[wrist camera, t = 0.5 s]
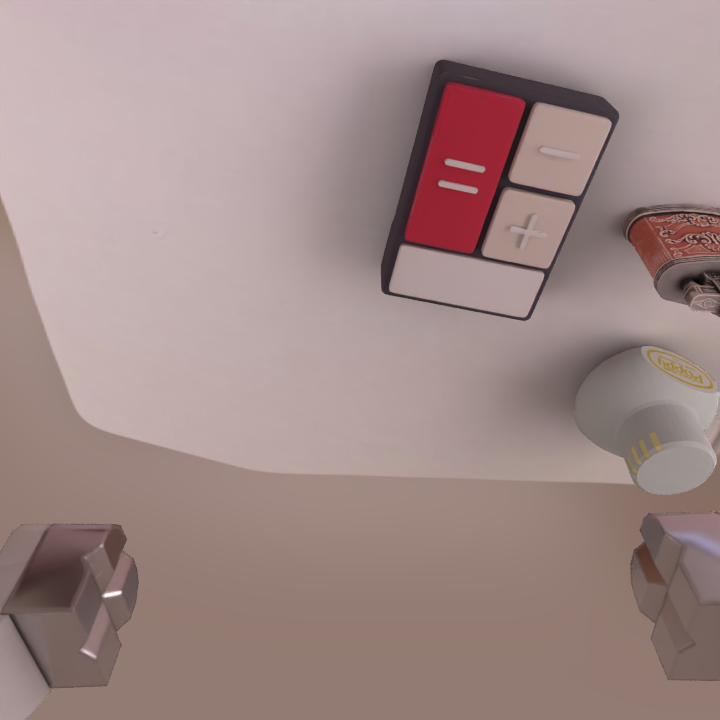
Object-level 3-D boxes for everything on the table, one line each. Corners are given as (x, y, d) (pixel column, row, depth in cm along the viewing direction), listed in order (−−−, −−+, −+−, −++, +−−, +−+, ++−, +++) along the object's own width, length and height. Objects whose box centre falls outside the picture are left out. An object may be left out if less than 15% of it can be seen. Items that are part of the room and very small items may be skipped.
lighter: (616, 244, 46) (662, 328, 38) (631, 201, 44) (684, 280, 36) (727, 251, 46) (796, 336, 39) (748, 208, 44) (825, 289, 36)
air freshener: (550, 392, 55) (577, 484, 48) (610, 322, 50) (651, 411, 43) (653, 430, 58) (694, 522, 50) (720, 366, 53) (777, 458, 45)
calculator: (627, 115, 37) (531, 328, 46) (605, 95, 40) (520, 297, 49) (441, 72, 35) (379, 300, 44) (435, 55, 39) (379, 269, 48)
